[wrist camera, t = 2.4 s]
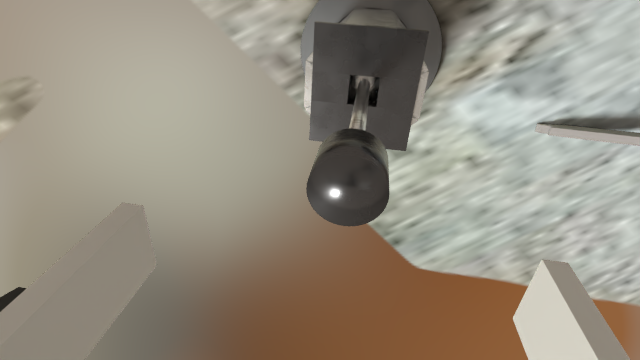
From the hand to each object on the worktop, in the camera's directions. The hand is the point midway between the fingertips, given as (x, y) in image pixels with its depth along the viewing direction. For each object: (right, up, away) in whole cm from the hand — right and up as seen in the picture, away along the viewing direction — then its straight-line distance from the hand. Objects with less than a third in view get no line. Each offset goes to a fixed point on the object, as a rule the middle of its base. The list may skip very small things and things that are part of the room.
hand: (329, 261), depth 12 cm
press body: (+5, +16, +30) cm, 34 cm away
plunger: (+4, +11, +19) cm, 22 cm away
